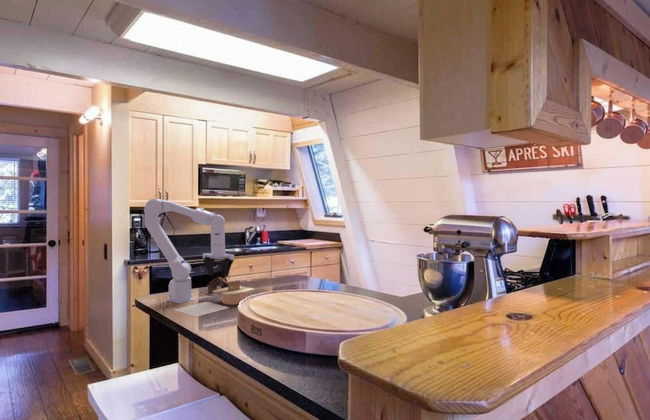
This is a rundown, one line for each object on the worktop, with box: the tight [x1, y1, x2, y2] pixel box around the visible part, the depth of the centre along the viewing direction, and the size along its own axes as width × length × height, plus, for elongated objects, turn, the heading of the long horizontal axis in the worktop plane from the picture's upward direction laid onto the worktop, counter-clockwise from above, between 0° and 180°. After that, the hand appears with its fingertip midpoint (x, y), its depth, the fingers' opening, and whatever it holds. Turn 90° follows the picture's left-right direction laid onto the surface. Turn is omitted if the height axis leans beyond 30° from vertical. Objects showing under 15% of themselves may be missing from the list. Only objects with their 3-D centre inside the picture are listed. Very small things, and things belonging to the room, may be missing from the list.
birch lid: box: [212, 279, 256, 296], centre depth 173 cm, size 12×12×4 cm
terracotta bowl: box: [221, 292, 248, 305], centre depth 173 cm, size 10×10×4 cm
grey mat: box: [173, 301, 230, 317], centre depth 162 cm, size 15×15×1 cm
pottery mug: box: [206, 276, 229, 294], centre depth 190 cm, size 12×10×8 cm
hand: (218, 275), depth 178 cm, fingers open, 7 cm apart
